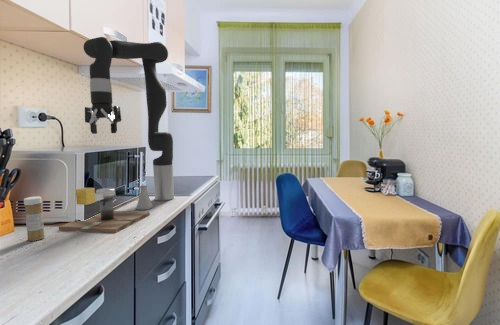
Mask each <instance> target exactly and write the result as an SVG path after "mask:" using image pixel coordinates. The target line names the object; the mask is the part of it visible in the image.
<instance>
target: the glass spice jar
mask: <svg viewBox="0 0 500 325" xmlns="http://www.w3.org/2000/svg"><path fill="white" fill-rule="evenodd" d="M113 198H114V197H113ZM113 198H107V199H102V200H99V211H101V220H111V219H114V211H115V210H114V199H113Z"/></svg>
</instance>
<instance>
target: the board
mask: <svg viewBox="0 0 500 325" xmlns="http://www.w3.org/2000/svg"><path fill="white" fill-rule="evenodd" d="M149 216H150V211H132V210H131V211H130V210H129V211H126V210H124V211H123V210H114V219H111V220H101V213H100V214H98V215H96V216H94V217H92V218H90V219H88V220H86V221H77V222H72V221H69V222H68V223H65V224H62V225H59V226H58V230H59V231H70V232H71V231H73V232H94V233H96V232H97V233H115V234H116V233H118V232H120V231H122V230H124V229H126V228H128V227H129V226H132V225H134V224H135V223H137V222H139V221H141V220H143V219H144V218H146V217H149Z"/></svg>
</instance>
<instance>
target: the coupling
mask: <svg viewBox="0 0 500 325" xmlns="http://www.w3.org/2000/svg"><path fill="white" fill-rule="evenodd" d="M95 189H96V188H95V187H81V188H76V189H75V197H76V198H75V199H76V200H75V201H76V205H79V206H82V205H85V206H87V205H91V204H93V203H96V202H100V200H102V199H107V198H115V197H116V188H115V187H106V188H104V187H103V188H98V189H96V190H95Z"/></svg>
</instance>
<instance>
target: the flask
mask: <svg viewBox="0 0 500 325" xmlns="http://www.w3.org/2000/svg"><path fill="white" fill-rule="evenodd" d="M147 188H148V185H139V190H140V191H139V192H140V193H139V197H138V201H137V204H136V207H135V209H136V210H140V211H142V210H143V211H144V210H151V209H153V208H154V206H153V203H152V201H151V199H150V198H151V197H150V196H149V194H148V189H147Z"/></svg>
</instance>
